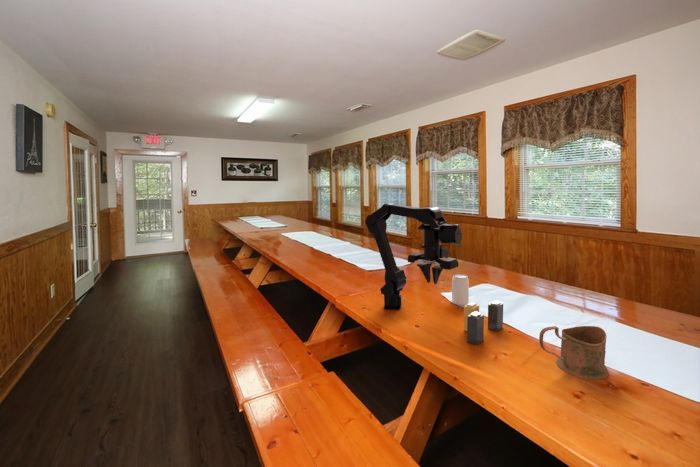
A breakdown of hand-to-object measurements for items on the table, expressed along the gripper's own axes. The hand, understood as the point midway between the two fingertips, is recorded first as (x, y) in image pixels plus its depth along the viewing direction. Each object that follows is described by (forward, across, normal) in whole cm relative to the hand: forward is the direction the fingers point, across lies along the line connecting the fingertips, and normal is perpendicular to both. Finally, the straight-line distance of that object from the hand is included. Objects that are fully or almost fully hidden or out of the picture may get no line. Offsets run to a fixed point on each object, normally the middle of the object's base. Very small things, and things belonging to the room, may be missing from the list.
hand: (432, 283), depth 126 cm
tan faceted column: (+12, -17, +3) cm, 21 cm away
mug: (+13, -47, +4) cm, 49 cm away
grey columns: (+13, -17, +3) cm, 22 cm away
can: (+13, -1, -18) cm, 22 cm away
